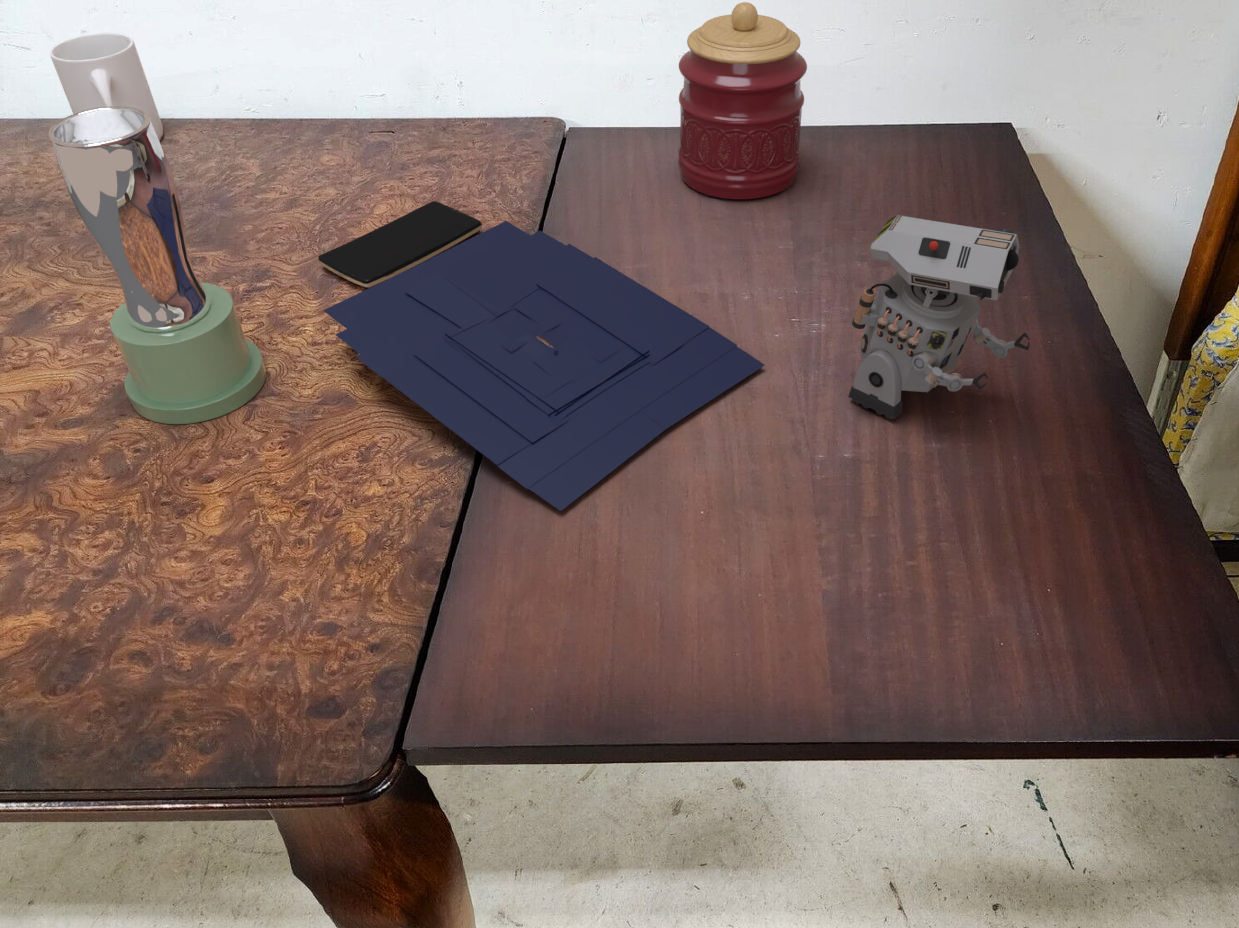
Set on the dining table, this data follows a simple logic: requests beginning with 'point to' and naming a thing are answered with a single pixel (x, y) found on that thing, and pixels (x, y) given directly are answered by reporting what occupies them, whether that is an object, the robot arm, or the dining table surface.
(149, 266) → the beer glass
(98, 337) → the dining table surface
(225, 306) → the flowerpot
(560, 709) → the dining table surface
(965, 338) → the figurine
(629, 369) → the papers
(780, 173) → the kitchen canister
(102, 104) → the mug
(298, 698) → the dining table surface
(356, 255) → the smartphone
